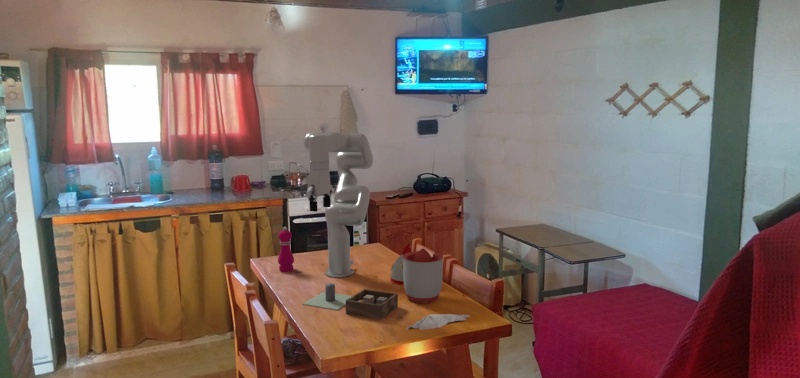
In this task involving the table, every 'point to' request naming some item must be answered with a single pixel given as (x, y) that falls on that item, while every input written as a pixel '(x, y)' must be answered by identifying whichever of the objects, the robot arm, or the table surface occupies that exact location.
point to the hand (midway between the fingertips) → (320, 209)
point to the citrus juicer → (422, 275)
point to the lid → (328, 299)
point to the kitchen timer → (399, 268)
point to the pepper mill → (285, 251)
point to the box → (372, 304)
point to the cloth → (437, 321)
